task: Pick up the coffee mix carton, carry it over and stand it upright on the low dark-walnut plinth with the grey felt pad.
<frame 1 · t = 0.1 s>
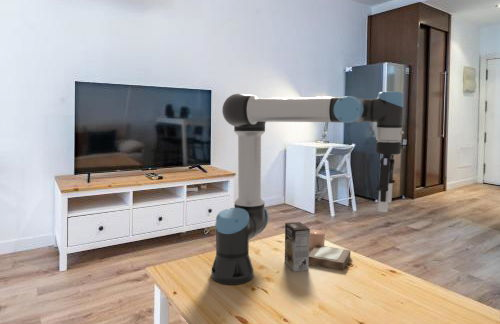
hand: (385, 206, 116), 28 cm above the table, fingers open, 13 cm apart
walnut plinth: (329, 260, 142), on the table
peach glossy stubby part: (316, 248, 156), on the table
coffee box: (296, 266, 137), on the table
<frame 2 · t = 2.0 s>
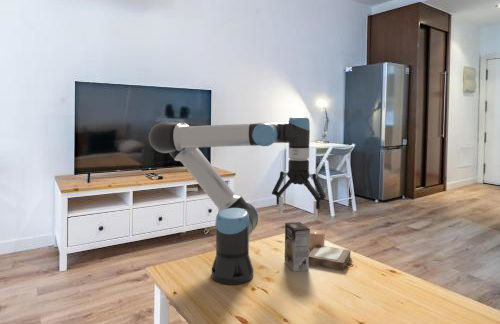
hand: (297, 215, 134), 20 cm above the table, fingers open, 13 cm apart
nothing on the table moved.
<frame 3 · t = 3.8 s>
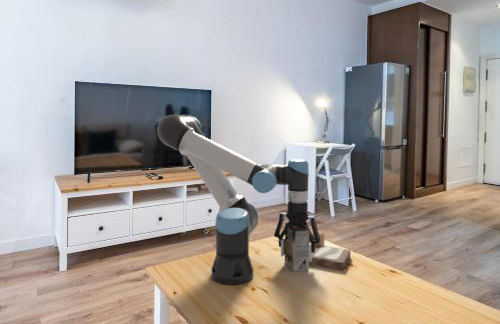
hand: (296, 257, 136), 3 cm above the table, fingers closed on coffee box, 10 cm apart
coffee box: (296, 266, 137), on the table, touching gripper
everything else where it was.
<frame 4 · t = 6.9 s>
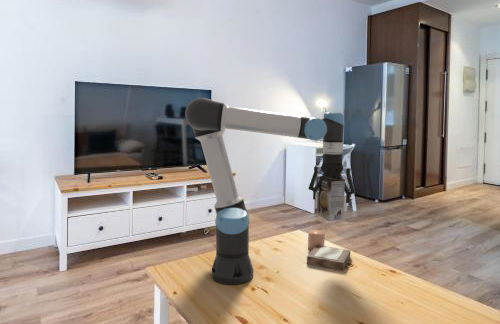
hand: (330, 209, 140), 21 cm above the table, fingers closed on coffee box, 10 cm apart
coffee box: (330, 218, 140), point 17 cm above the table, touching gripper
everything else where it was.
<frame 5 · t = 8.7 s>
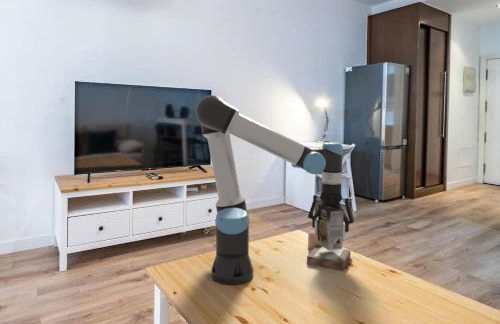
hand: (329, 237, 141), 9 cm above the table, fingers closed on coffee box, 10 cm apart
coffee box: (329, 246, 142), point 6 cm above the table, touching gripper
everything else where it was.
when the fingers open (8 cm above the table, at t = 10.1 s): coffee box drops 1 cm, resting on walnut plinth.
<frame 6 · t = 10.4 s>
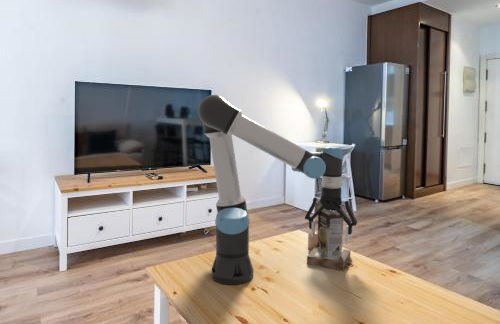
hand: (329, 239, 141), 9 cm above the table, fingers open, 13 cm apart
coffee box: (329, 253, 142), point 3 cm above the table, touching walnut plinth
everything else where it was.
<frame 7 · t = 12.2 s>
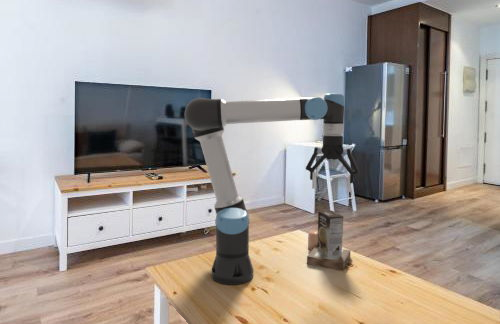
hand: (331, 189, 139), 29 cm above the table, fingers open, 13 cm apart
nothing on the table moved.
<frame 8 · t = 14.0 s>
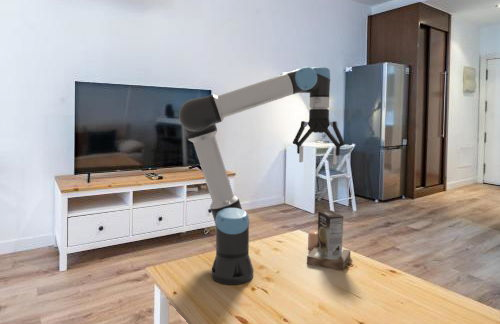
hand: (317, 163, 141), 39 cm above the table, fingers open, 13 cm apart
nothing on the table moved.
at the end: coffee box 0.1 cm from the walnut plinth (horizontally); coffee box tilted 0°; coffee box touching walnut plinth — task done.
